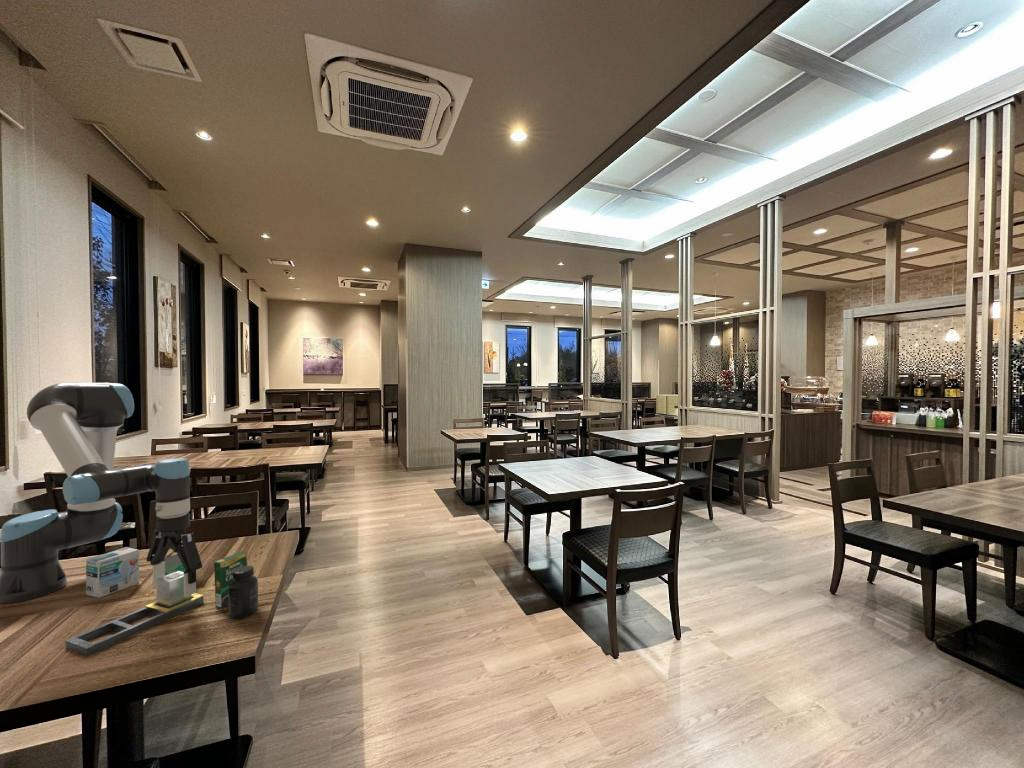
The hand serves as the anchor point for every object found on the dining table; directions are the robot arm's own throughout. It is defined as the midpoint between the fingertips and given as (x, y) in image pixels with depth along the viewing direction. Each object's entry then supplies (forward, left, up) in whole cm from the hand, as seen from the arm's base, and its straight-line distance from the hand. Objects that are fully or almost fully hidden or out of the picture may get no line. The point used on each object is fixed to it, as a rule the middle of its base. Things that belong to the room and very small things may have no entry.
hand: (174, 590), depth 120 cm
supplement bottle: (+21, +5, -5) cm, 22 cm away
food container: (-15, +11, -5) cm, 19 cm away
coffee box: (+12, +8, -5) cm, 15 cm away
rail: (0, -8, -5) cm, 9 cm away
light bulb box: (-31, +1, -5) cm, 31 cm away
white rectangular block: (0, 0, -5) cm, 5 cm away
